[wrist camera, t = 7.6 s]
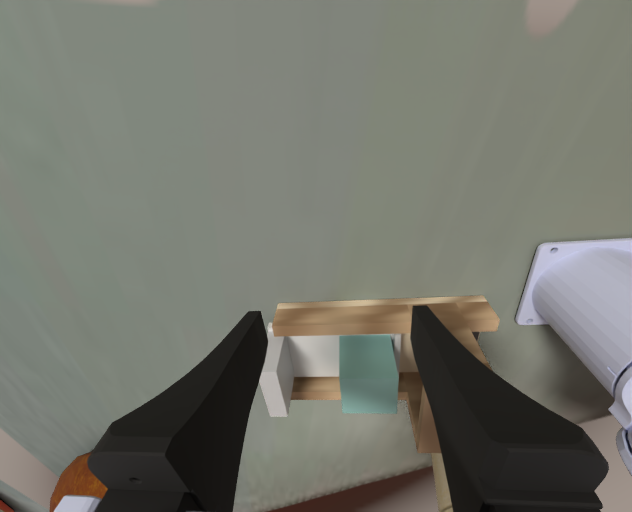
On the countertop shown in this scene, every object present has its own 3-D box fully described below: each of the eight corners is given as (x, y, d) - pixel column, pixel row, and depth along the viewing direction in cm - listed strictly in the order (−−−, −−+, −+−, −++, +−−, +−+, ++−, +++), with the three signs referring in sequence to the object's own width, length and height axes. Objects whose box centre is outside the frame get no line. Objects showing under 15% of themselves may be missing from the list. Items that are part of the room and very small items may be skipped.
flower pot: (513, 445, 36) (558, 539, 28) (460, 475, 40) (487, 563, 33) (451, 420, 34) (482, 513, 27) (403, 454, 39) (419, 542, 31)
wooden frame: (483, 295, 25) (535, 371, 18) (465, 372, 30) (501, 454, 23) (278, 303, 27) (258, 373, 20) (293, 374, 32) (281, 449, 25)
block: (389, 334, 26) (398, 378, 22) (389, 368, 28) (396, 413, 24) (339, 335, 26) (339, 378, 22) (342, 368, 29) (342, 413, 25)
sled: (398, 319, 26) (410, 366, 21) (395, 370, 29) (405, 420, 25) (269, 322, 27) (255, 368, 23) (281, 371, 30) (271, 419, 26)
